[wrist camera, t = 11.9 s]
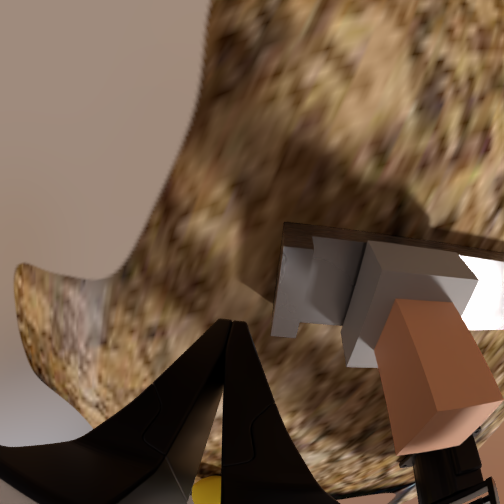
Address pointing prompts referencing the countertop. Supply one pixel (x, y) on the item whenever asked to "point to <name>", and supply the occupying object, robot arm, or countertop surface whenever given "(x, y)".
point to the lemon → (207, 490)
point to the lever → (420, 344)
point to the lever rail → (347, 270)
